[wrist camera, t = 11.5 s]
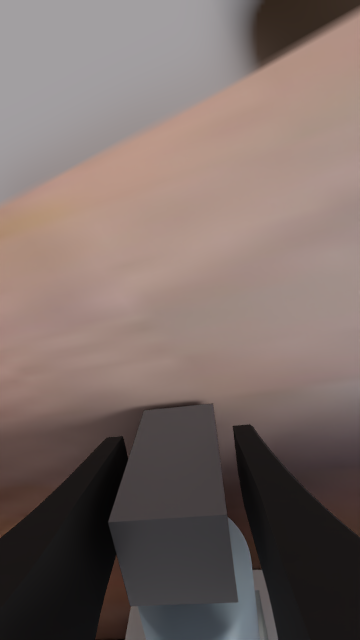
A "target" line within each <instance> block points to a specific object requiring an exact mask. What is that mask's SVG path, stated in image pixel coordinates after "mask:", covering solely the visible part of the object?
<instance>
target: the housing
mask: <svg viewBox="0 0 360 640" xmlns="http://www.w3.org/2000/svg"><path fill="white" fill-rule="evenodd" d="M253 580H254V589H255V598H256V607H257V617H258V626H259V635H260V640H278V636H277V631H276V626H275V622H274V617H273V612H272V607H271V603H270V599H269V594H268V590H267V586H266V582H265V579H264V575H263V572H262V570H253ZM125 640H146V637H145V633H144V630H143V626H142V622H141V618H140V614H139V610H138V606H131V609H130V615H129V620H128V626H127V631H126V637H125Z"/></svg>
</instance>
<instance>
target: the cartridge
mask: <svg viewBox="0 0 360 640" xmlns="http://www.w3.org/2000/svg"><path fill="white" fill-rule="evenodd" d="M108 524H109V527H110V531H111V535H112V539H113V543H114V546H115V550H116V554H117V558H118V561H119V565H120V569H121V573H122V577H123V580H124V584H125V588H126V592H127V595H128V599H129V603H130V606H138V610H139V614H140V618H141V622H142V626H143V630H144V633H145V637H146V640H260V635H259V626H258V617H257V607H256V598H255V589H254V580H253V570H252V562H251V555H250V551H249V548H248V545H247V542H246V540H245V538H244V536H243V534H242V533H241V531H240V530H239V528H238V527H237V526H236V524H235V523H234V522H233V521H232V520H231V519H230V518H229V517H227V509H226V501H225V493H224V485H223V477H222V469H221V461H220V454H219V446H218V438H217V430H216V423H215V415H214V407H213V404H203V405H193V406H183V407H173V408H163V409H153V410H144V412H143V415H142V418H141V422H140V425H139V428H138V431H137V434H136V437H135V440H134V443H133V446H132V450H131V453H130V456H129V459H128V462H127V465H126V468H125V471H124V474H123V478H122V481H121V484H120V487H119V490H118V493H117V496H116V499H115V502H114V505H113V509H112V512H111V515H110V518H109V521H108Z"/></svg>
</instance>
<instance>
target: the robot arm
mask: <svg viewBox="0 0 360 640" xmlns="http://www.w3.org/2000/svg"><path fill="white" fill-rule="evenodd" d="M233 431H234V440H235V449H236V458H237V466H238V475H239V480H240V486H241V491H242V497H243V502H244V506H245V510H246V514H247V517H248V521H249V525H250V528H251V532H252V535H253V539H254V543H255V546H256V550H257V554H258V557H259V561H260V564H261V568H262V572H263V575H264V579H265V582H266V586H267V590H268V594H269V599H270V603H271V607H272V612H273V617H274V622H275V626H276V631H277V636H278V640H360V537H359V536H357V535H356V534H355V533H354V532H353V531H351V530H350V529H349V528H348V527H347V526H346V525H344V524H343V523H342V522H341V521H340V520H338V519H337V518H336V517H335V516H334V515H333V514H332V513H331V512H330V511H328V510H327V509H326V508H325V507H324V506H323V505H322V504H321V503H320V502H319V501H318V500H316V499H315V498H314V497H313V496H312V495H311V494H310V493H309V492H308V491H307V490H306V489H305V488H304V487H303V486H302V485H301V484H300V483H299V482H298V481H297V480H296V479H295V477H294V476H293V475H292V474H291V473H290V472H289V471H288V470H287V469H286V468H285V467H284V465H283V464H282V463H281V462H280V461H279V460H278V459H277V457H276V456H275V455H274V454H273V453H272V452H271V450H270V449H269V448H268V447H267V445H266V444H265V443H264V441H263V440H262V439H261V437H260V436H259V435H258V433H257V432H256V430H255V429H254V427H253V426H251V425H250V424H249V425H238V426H233ZM127 462H128V456H127V452H126V448H125V443H124V439H123V436H120V437H109V438H106V439H105V440H104V441H103V442H102V443H101V444H100V445H99V446H98V447H97V448H96V449H95V450H94V451H93V453H92V454H91V455H90V456H89V457H88V458H87V459H86V460H85V461H84V462H83V463H82V464H81V465H80V466H79V467H78V468H77V469H76V470H75V471H74V472H73V473H72V474H71V475H70V476H69V477H68V478H67V479H66V480H65V481H64V482H63V483H62V484H61V485H60V486H59V487H58V488H57V489H56V490H55V491H54V492H53V493H52V494H50V495H49V496H48V497H47V498H46V499H45V500H44V501H43V502H42V503H41V504H40V505H39V506H38V507H37V508H36V509H34V510H33V511H32V512H31V513H30V514H29V515H28V516H26V517H25V518H24V519H23V520H22V521H21V522H19V523H18V524H17V525H16V526H15V527H13V528H12V529H11V530H10V531H9V532H7V533H6V534H5V535H4V536H2V537H1V538H0V640H95V637H96V632H97V627H98V622H99V617H100V613H101V608H102V604H103V600H104V596H105V592H106V589H107V585H108V582H109V578H110V574H111V571H112V567H113V564H114V560H115V557H116V550H115V546H114V543H113V539H112V535H111V531H110V527H109V524H108V521H109V518H110V515H111V512H112V509H113V505H114V502H115V499H116V496H117V493H118V490H119V487H120V484H121V481H122V478H123V474H124V471H125V468H126V465H127Z"/></svg>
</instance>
